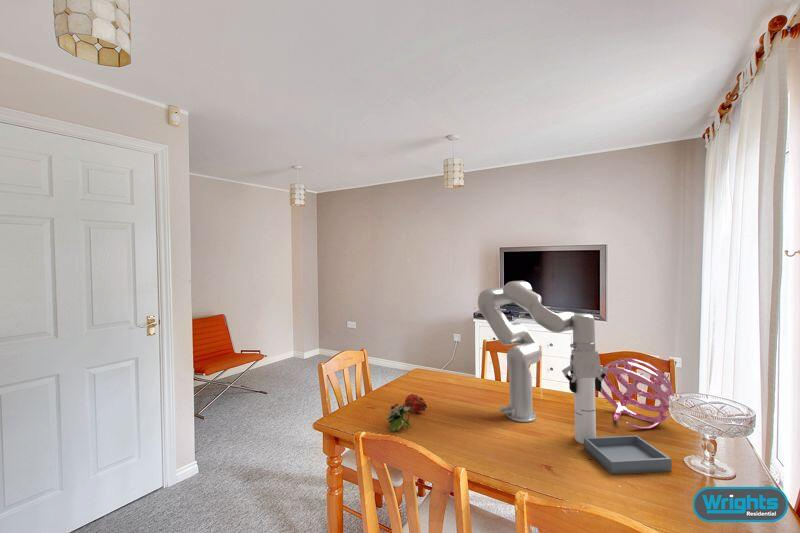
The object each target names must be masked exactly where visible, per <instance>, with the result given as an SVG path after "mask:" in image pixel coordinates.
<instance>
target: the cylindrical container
mask: <svg viewBox="0 0 800 533" xmlns="http://www.w3.org/2000/svg"><path fill="white" fill-rule="evenodd" d="M595 379H596V378H594V377H590V378H577V379H576V380H575V383H576V393H573V395H574V396H573V398H574V399H573V400H574V439H575V441H576V442H577V443H580V444H582V445H584V438H591V437H597V431H596V430H597V428H596V427H597V426H596V423H597V422H596V421H597V420H596V416H597V415H596V414H597V413H596V390H595Z"/></svg>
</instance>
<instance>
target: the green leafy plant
mask: <svg viewBox="0 0 800 533" xmlns="http://www.w3.org/2000/svg"><path fill="white" fill-rule="evenodd" d="M390 410H391V411H390V413H389V414H387V416H388V417H387V418H385V420H387V423H388V424H390V425H389V432H390V433H392V432H395V431H399V430H400V429H401V428H402V427H403V426H404V424H405V425H406V427H407V429H409V427H411V426H412V425H411V424H410V423H409V421H410V415H411V413H412V411H411V410H412V408H411V407H409V408H408V407H406V406H405V405H404V404H402V405H400V404H399V403H395V404H393V405H390ZM409 411H410V412H409ZM406 413H409V414H408V417H407V419H405V418H404V417H405V415H406Z"/></svg>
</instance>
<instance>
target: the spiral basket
mask: <svg viewBox="0 0 800 533" xmlns="http://www.w3.org/2000/svg"><path fill="white" fill-rule="evenodd" d="M639 363H640V364H639ZM641 364H642V365H641ZM619 365H623V366H624V367H623V368H619V367H618V366H619ZM610 366H611V367H610ZM646 366H647V367H646ZM604 367H605V368H607V369H608V371H607V373H606V376H605V377H604V378H603V382H604V383H605V385H606V387H608V389H609V390H610V391H611V392H612V393H614V394H615V395H616V396H617V397H618V398H619V401H616V400H615V399H613V398H612V397H611V396H610V395H609V394H608V393H607V392H606V391H605V389H604V388H603V387H602V388H601V392H600V394H601V395H602V397H604V398H605V400H606V401H608V403H609V404H611V405H612V406H613V407H614V408H615V411H614V414H613V420H614V422H617V423H618V422H619V420H620V418H621V415H622V414H626V415H629V416H631V417H632V418H635V419H638V420H641V421H645V422H650V423H651V424H650V425H647V426H639V425H636V424H632V423H630V422H627V421H626V422H625V424H627V425H628V426H630V427H632V428H633V429H638V430H650V429H652V428H655V427H657V426H658V425H659V424H660V423H663V422H664V421H667V420H668V419H669V418H670V417H671V416H670V414H669V409H668V408H669V399H670V396H671V397H672V396H674V395H675V392H674V390H673V387H672V384H671V381H670V380H669V378H668V376H666V375H665V373H664V372H662V371H661V370H660V369H658V368H657V367H656V366H655V365H653V364H651V363H649V362H647V361H644V360H640V359H637V358H631V357H625V358H623V357H622V358H619V359H616V360H614V361H610V362H609V363H607V364H605V365H604ZM632 367H633V368H635V369H638V370H641V371H643V372H644V373H647V375H650V377H651V379H652V380H651V379H648V378H647V377H645V376H643V374H644V373H643V372H641V373H640V374H639V373H637V372H635V371H633V368H632ZM648 367H649V368H648ZM608 374H612V375H613V376H614V378H615V379H616V381H617V382H618V383H620V384H621V386H623V387H624V388H625V389H626V391H625V392H622V391H621V390H620V389H619V388H617V387H616V386H615V385H614V384H613V383H612V381H611V380H610V379H609V376H608ZM623 376H626V377H628V378H632V379H633V382H632V383H630V382H628V381H627V380H626V379H625V378H624V377H623ZM638 384H643V385H645V386H647V387H649V388H650V389H651V390H652V391H654V392H649V391H645V390H643V389H640V388H638ZM662 385H663V386H664V387H665V388H666V390H665V391H664V390H663V389H662V387H661V386H662ZM633 394H636V395H638V396H641V397H644V398H646V399H649V400H650V399H651V400H658V401H659V403H660V404H659V405H651V404H648V403H643V402H641V401H638V400H636V399H634V398H633V397H632V395H633ZM628 405H632V406H634V407H635V408H638V409H642V410H644V411H647V412H648V411H649V412H653V413H654V412H655V413H658V415H657V416H655V417H654V416H648V415H644V414H641V413H638V412H636V411H633V410H631V409H629V408H628V407H627V406H628ZM667 412H668V413H667ZM666 413H667V414H666ZM665 414H666V415H665Z"/></svg>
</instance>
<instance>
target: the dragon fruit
mask: <svg viewBox="0 0 800 533" xmlns="http://www.w3.org/2000/svg"><path fill="white" fill-rule="evenodd" d="M403 405H405V406H406V408H409V407H411V408H412V410H411V412H413V413H414V414H416V415H420V414H422V413H421V412H423V411H426V409H427V408H428V407H427V406H428V405H427V403H426V401H424V398H422V397H420V396H419V395H418V394H415V393H411V394H408V396H406V398H405V399H404V403H403ZM408 413H410V411H409V412H408Z"/></svg>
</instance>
